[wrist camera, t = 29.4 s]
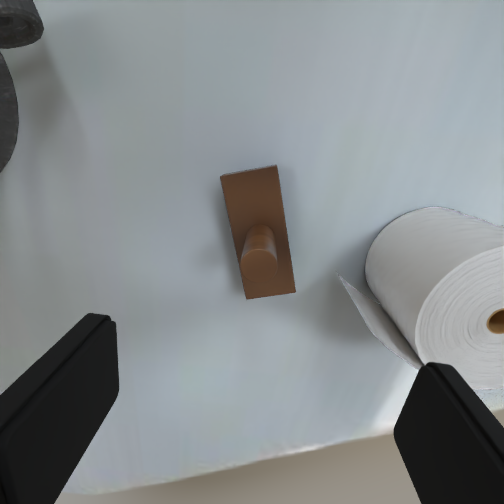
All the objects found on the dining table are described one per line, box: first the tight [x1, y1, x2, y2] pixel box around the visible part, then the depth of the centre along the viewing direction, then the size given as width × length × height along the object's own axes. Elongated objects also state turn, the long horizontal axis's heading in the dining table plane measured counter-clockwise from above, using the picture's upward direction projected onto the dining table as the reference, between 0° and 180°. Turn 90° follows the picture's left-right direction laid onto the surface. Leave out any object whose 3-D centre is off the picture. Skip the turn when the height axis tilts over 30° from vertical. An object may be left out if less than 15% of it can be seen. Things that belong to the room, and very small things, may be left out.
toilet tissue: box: [336, 207, 504, 390], centre depth 23 cm, size 11×12×10 cm
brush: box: [220, 165, 296, 299], centre depth 22 cm, size 11×4×9 cm, turn 10°
